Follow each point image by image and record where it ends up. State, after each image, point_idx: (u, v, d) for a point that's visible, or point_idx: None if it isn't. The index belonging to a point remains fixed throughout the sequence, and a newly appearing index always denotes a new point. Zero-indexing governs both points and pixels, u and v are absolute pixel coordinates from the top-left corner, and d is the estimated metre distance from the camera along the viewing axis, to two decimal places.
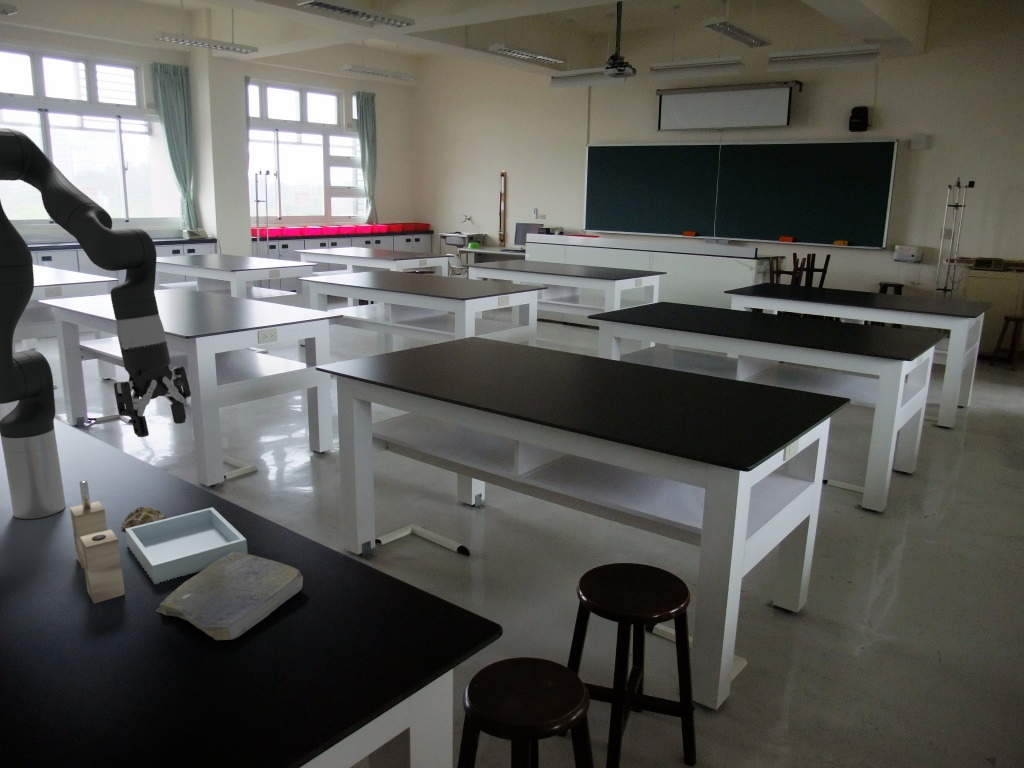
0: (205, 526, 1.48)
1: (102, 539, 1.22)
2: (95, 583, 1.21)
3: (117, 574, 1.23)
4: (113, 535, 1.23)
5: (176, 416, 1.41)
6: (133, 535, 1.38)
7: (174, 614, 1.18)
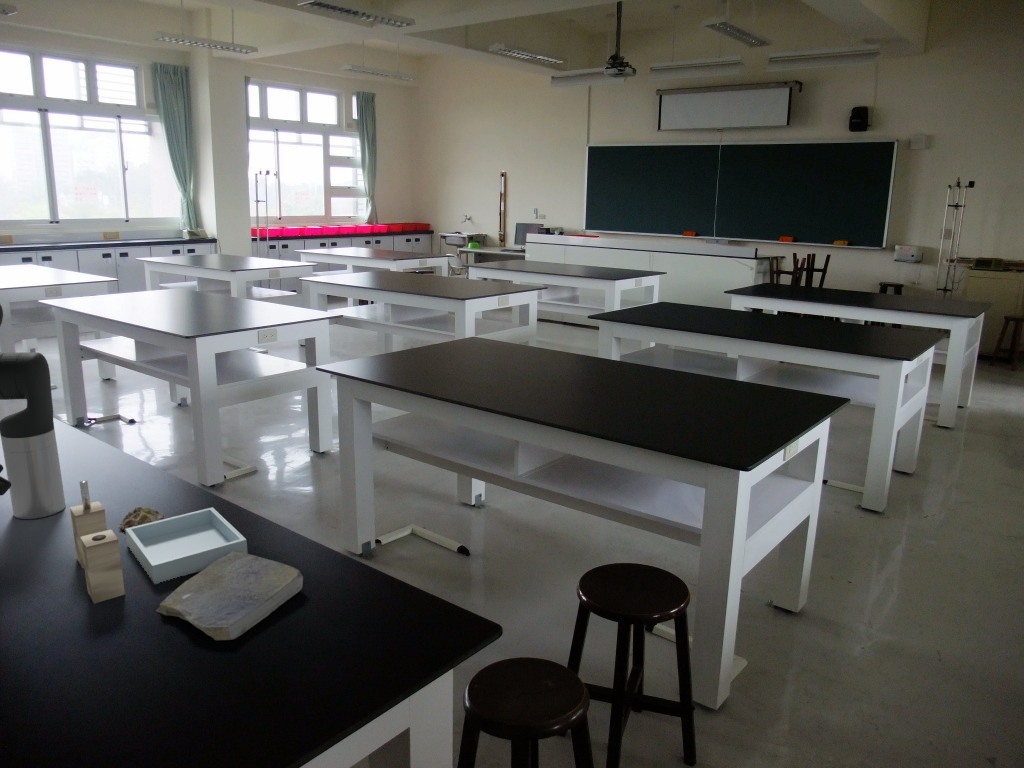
0: (205, 526, 1.48)
1: (102, 539, 1.22)
2: (95, 583, 1.21)
3: (117, 574, 1.23)
4: (113, 535, 1.23)
5: None
6: (133, 535, 1.38)
7: (174, 614, 1.18)
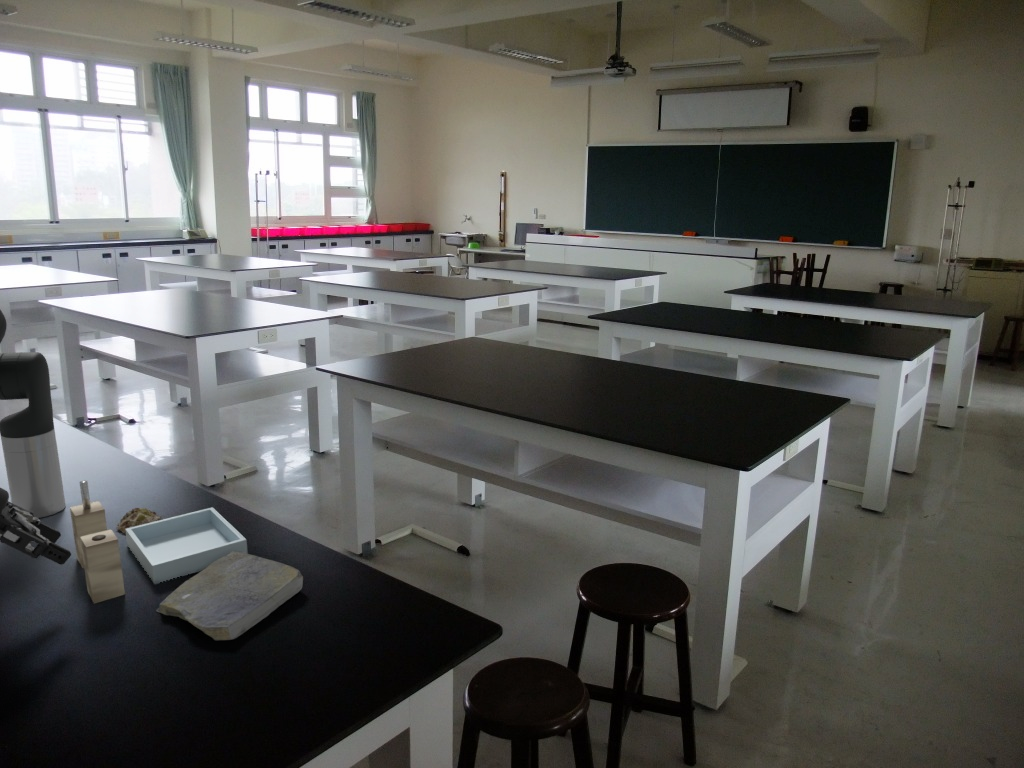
0: (205, 526, 1.48)
1: (101, 539, 1.22)
2: (95, 583, 1.21)
3: (117, 574, 1.23)
4: (113, 535, 1.23)
5: None
6: (133, 535, 1.38)
7: (174, 614, 1.18)
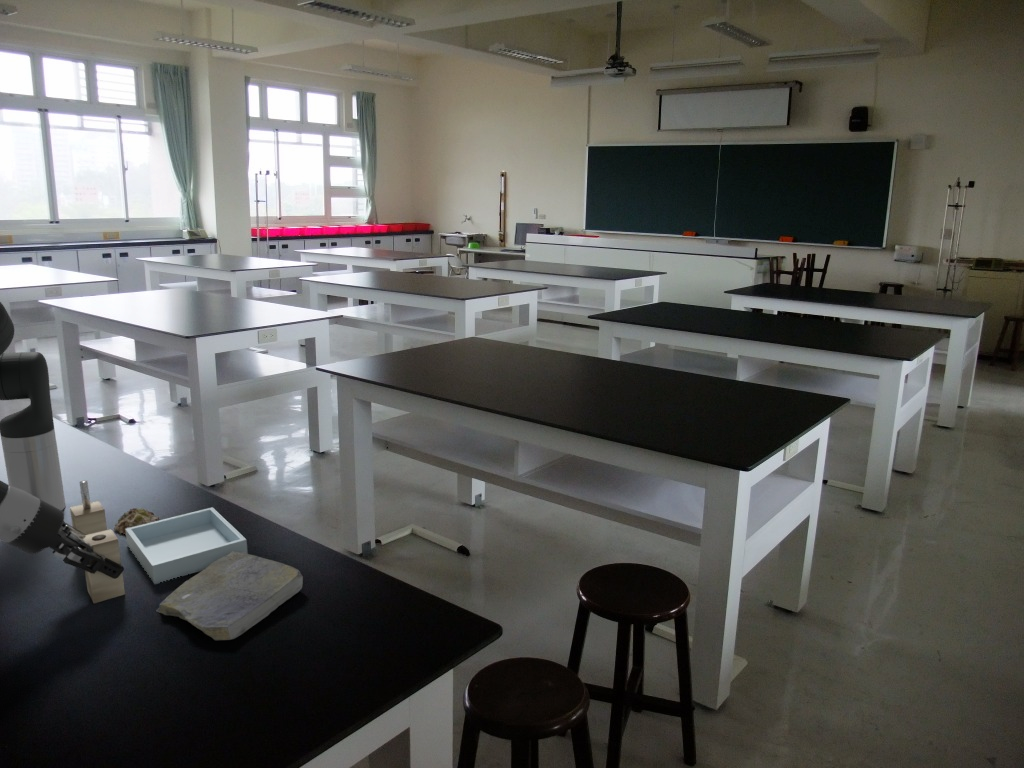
0: (205, 526, 1.48)
1: (102, 539, 1.22)
2: (95, 583, 1.21)
3: None
4: (113, 535, 1.23)
5: None
6: (133, 535, 1.38)
7: (174, 614, 1.18)
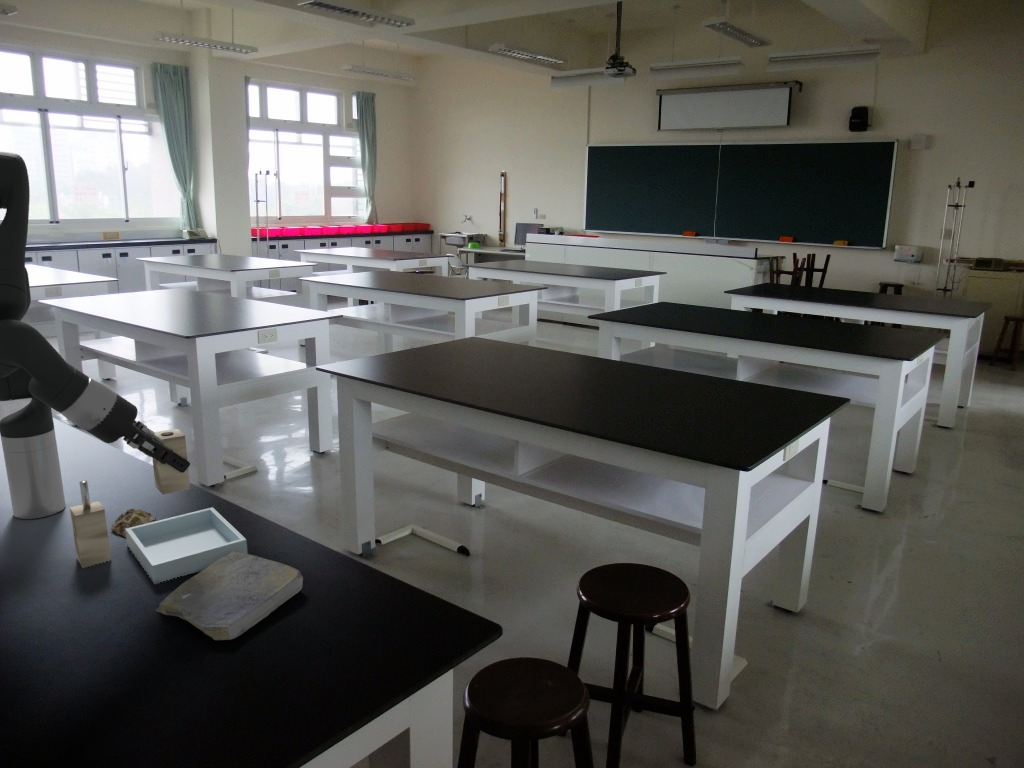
0: (205, 526, 1.48)
1: (170, 435, 1.31)
2: (164, 475, 1.30)
3: None
4: (180, 432, 1.32)
5: None
6: (133, 535, 1.38)
7: (174, 614, 1.18)
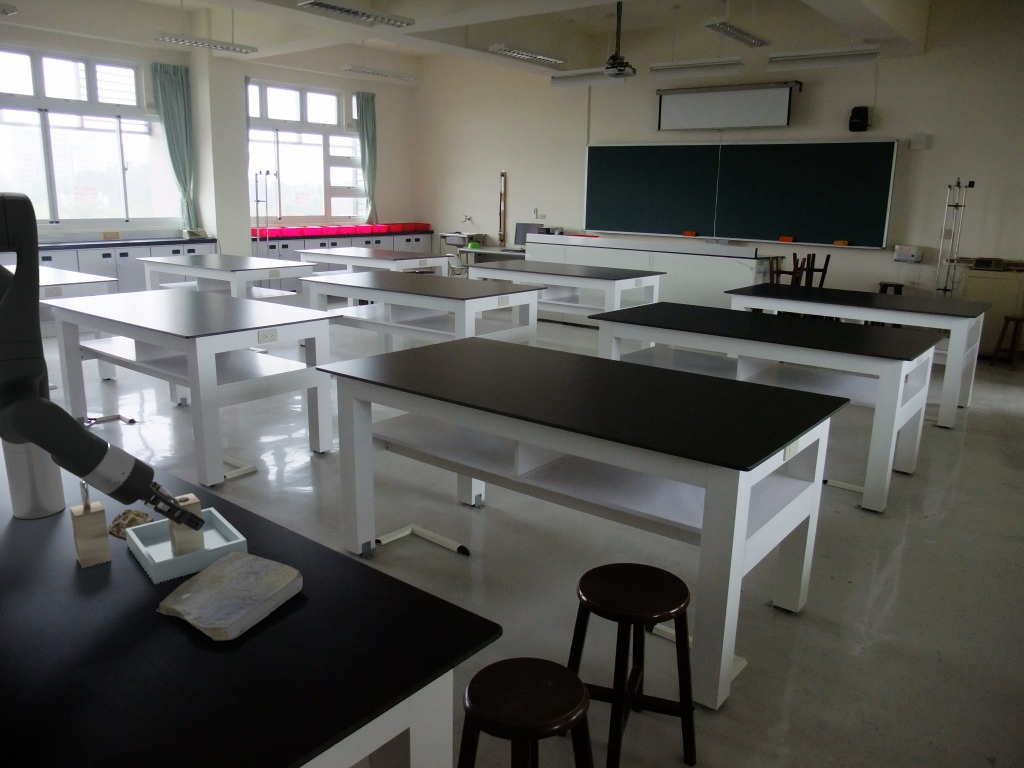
0: (205, 526, 1.48)
1: (186, 501, 1.35)
2: (180, 540, 1.35)
3: (199, 533, 1.37)
4: (195, 498, 1.37)
5: None
6: (133, 535, 1.38)
7: (174, 614, 1.19)
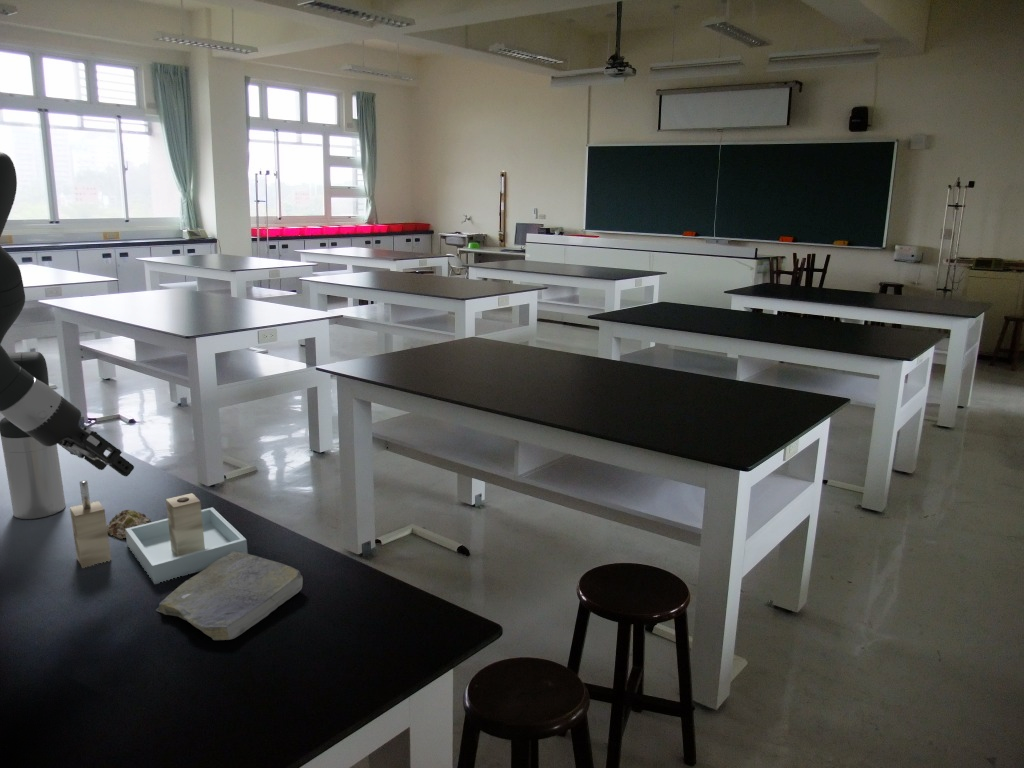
0: (205, 526, 1.48)
1: (186, 501, 1.35)
2: (180, 540, 1.35)
3: (199, 533, 1.37)
4: (195, 498, 1.37)
5: None
6: (133, 535, 1.38)
7: (173, 614, 1.19)
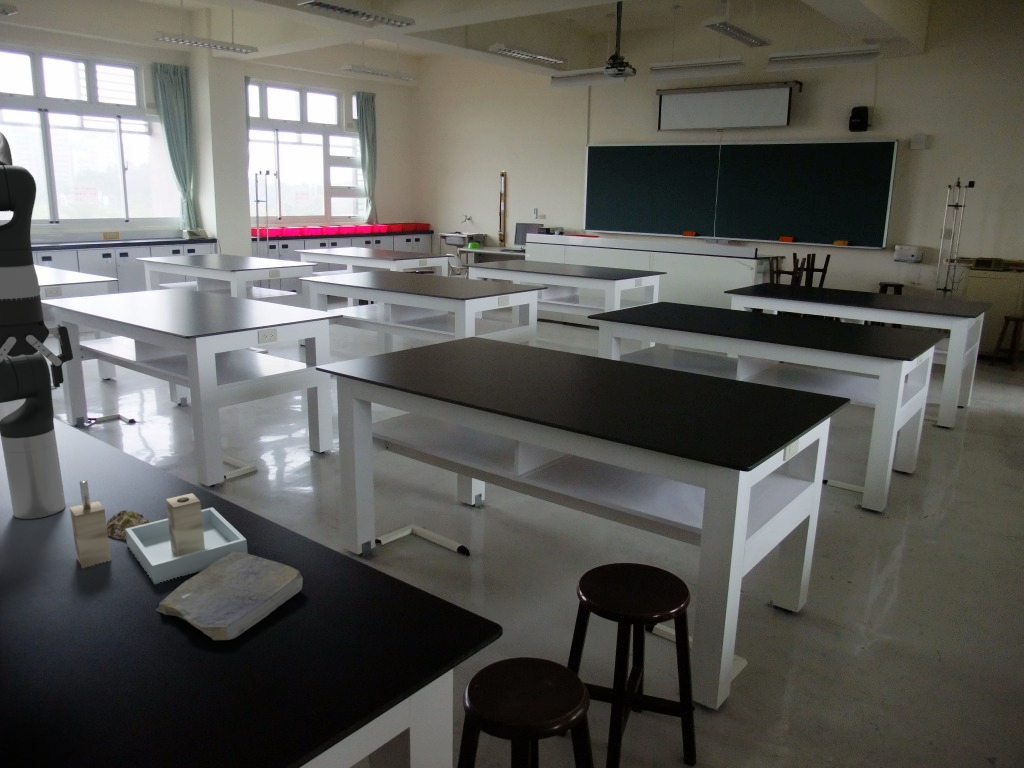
0: (205, 526, 1.48)
1: (186, 501, 1.35)
2: (180, 540, 1.35)
3: (199, 533, 1.37)
4: (195, 498, 1.37)
5: (53, 378, 1.28)
6: (133, 535, 1.38)
7: (173, 613, 1.19)
